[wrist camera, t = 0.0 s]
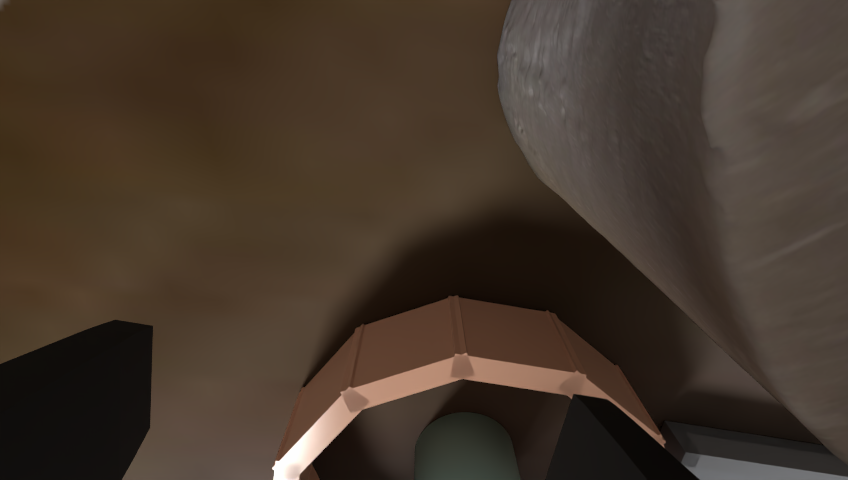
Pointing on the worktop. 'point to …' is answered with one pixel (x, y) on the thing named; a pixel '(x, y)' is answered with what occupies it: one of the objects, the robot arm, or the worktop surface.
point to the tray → (748, 455)
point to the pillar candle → (706, 166)
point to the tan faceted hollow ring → (447, 369)
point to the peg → (465, 450)
